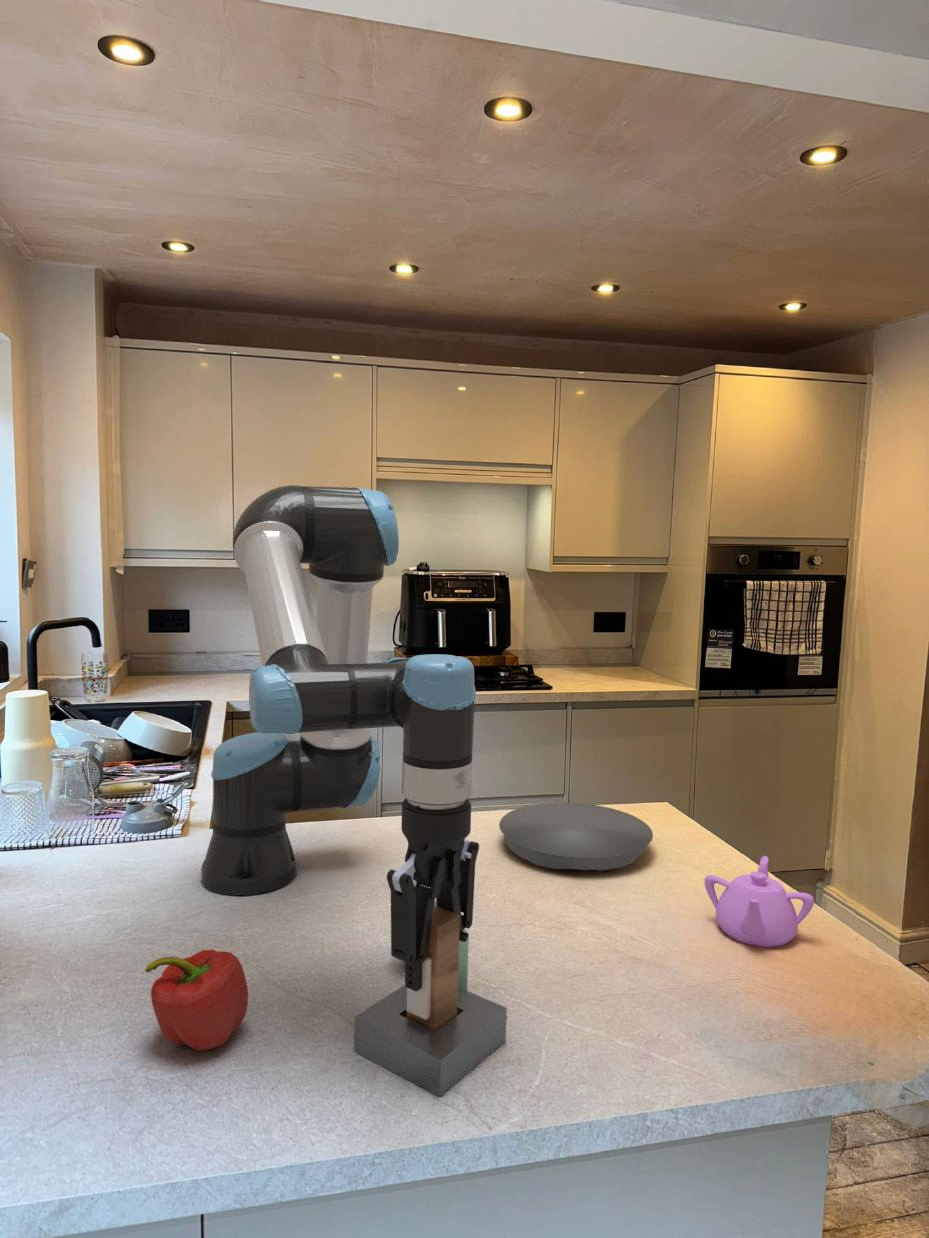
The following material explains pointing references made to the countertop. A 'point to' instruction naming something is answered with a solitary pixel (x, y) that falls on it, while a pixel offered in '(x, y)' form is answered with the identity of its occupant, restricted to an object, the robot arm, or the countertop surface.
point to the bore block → (430, 1039)
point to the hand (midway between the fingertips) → (431, 1003)
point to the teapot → (757, 908)
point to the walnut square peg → (442, 969)
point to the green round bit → (463, 963)
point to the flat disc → (575, 835)
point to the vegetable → (199, 998)
